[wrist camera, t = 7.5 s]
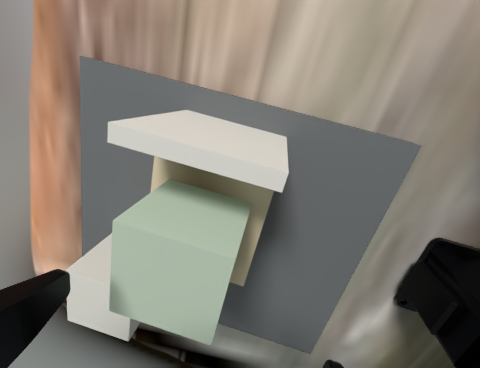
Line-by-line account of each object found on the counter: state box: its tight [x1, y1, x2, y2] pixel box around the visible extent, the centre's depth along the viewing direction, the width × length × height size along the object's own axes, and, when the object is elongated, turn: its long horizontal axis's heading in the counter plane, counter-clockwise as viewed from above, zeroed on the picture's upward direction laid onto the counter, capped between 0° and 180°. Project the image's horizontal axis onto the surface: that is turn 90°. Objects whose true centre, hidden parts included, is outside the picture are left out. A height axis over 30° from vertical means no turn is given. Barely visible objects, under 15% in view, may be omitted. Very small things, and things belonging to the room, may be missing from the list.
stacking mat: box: [80, 56, 421, 354], centre depth 16 cm, size 23×20×9 cm
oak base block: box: [150, 156, 274, 286], centre depth 17 cm, size 7×7×4 cm
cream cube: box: [66, 233, 140, 341], centre depth 20 cm, size 5×5×5 cm
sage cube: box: [109, 179, 252, 346], centre depth 12 cm, size 5×5×5 cm
